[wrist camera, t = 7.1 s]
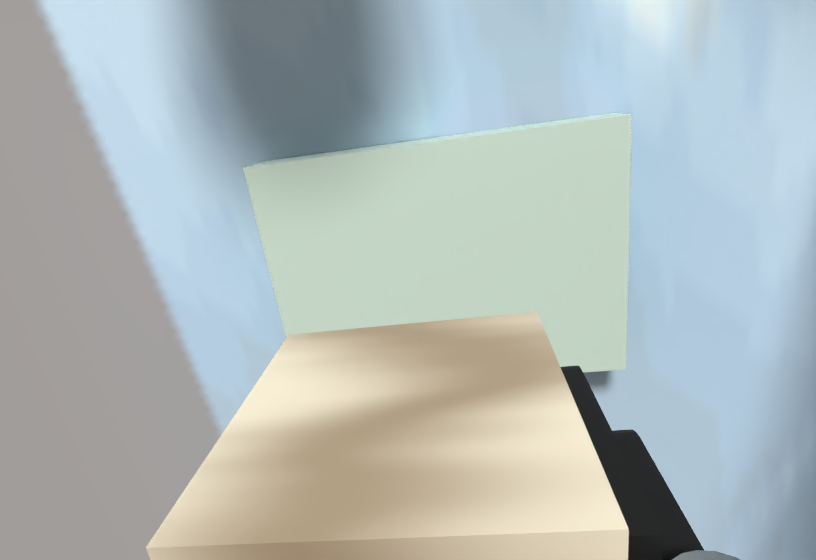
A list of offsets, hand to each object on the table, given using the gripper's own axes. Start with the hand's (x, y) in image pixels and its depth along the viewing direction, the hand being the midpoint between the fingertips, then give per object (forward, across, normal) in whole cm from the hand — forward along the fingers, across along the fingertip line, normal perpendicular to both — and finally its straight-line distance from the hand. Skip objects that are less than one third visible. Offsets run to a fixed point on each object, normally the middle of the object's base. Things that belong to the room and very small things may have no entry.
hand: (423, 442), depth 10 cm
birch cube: (+1, 0, 0) cm, 1 cm away
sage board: (+12, 0, 0) cm, 12 cm away
